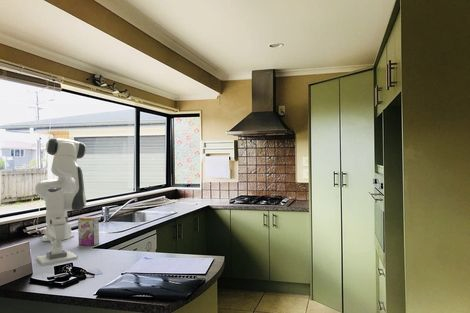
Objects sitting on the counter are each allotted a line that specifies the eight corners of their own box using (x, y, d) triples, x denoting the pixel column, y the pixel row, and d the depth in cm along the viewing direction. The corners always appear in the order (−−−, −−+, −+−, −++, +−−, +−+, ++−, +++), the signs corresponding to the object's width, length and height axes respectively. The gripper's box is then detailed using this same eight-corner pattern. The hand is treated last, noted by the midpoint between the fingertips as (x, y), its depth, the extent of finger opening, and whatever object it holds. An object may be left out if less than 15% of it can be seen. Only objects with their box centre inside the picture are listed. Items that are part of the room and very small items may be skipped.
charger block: (50, 256, 182) (50, 241, 182) (60, 254, 185) (60, 239, 185) (52, 258, 179) (52, 242, 179) (62, 256, 181) (62, 240, 182)
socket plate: (36, 258, 183) (36, 252, 183) (69, 252, 193) (69, 247, 193) (42, 265, 171) (42, 258, 171) (77, 258, 180) (77, 252, 181)
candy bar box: (78, 245, 211) (77, 217, 211) (83, 243, 216) (83, 216, 216) (94, 245, 208) (93, 218, 208) (99, 243, 213) (98, 216, 213)
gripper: (44, 217, 188) (45, 243, 188) (53, 222, 172) (53, 250, 172) (57, 216, 192) (58, 241, 192) (67, 220, 176) (67, 248, 176)
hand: (56, 245), depth 182 cm, fingers open, 8 cm apart
